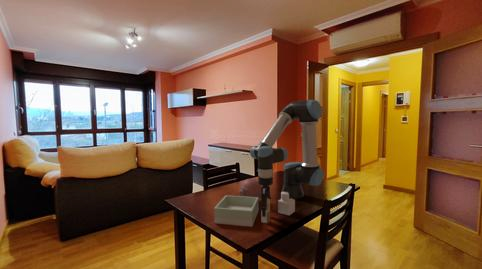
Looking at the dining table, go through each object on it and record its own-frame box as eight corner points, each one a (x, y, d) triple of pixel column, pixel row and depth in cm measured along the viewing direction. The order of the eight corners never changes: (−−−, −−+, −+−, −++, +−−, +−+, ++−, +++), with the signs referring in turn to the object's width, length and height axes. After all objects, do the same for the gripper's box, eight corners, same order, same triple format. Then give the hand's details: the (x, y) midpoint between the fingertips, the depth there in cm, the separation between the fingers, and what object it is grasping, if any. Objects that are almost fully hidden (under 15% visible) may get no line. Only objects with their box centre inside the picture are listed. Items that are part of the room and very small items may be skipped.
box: (258, 210, 132) (258, 197, 131) (252, 226, 113) (252, 211, 112) (225, 208, 137) (225, 195, 136) (214, 223, 117) (214, 208, 117)
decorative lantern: (228, 205, 142) (228, 181, 140) (249, 196, 156) (249, 174, 155) (247, 211, 131) (246, 185, 130) (267, 201, 146) (267, 178, 145)
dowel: (270, 220, 119) (270, 198, 119) (269, 223, 116) (269, 200, 115) (262, 219, 120) (262, 197, 120) (261, 222, 117) (261, 200, 116)
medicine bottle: (283, 208, 134) (283, 189, 133) (295, 211, 130) (295, 191, 129) (277, 212, 129) (277, 192, 128) (289, 216, 124) (289, 194, 123)
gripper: (261, 170, 129) (262, 206, 131) (254, 182, 105) (254, 226, 107) (274, 171, 128) (275, 207, 129) (270, 183, 103) (270, 228, 105)
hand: (265, 216), depth 118 cm, fingers open, 13 cm apart
